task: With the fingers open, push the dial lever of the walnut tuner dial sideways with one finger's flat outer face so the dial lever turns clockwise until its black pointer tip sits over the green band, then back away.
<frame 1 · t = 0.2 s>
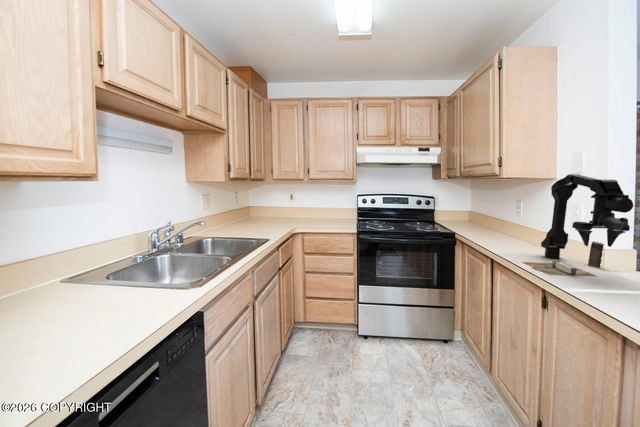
hand: (597, 246, 130), 13 cm above the counter, fingers open, 9 cm apart
box: (594, 268, 146), on the counter
dial lever: (564, 266, 135), point 3 cm above the counter, hinge at 0.0°
dial board: (557, 271, 139), on the counter
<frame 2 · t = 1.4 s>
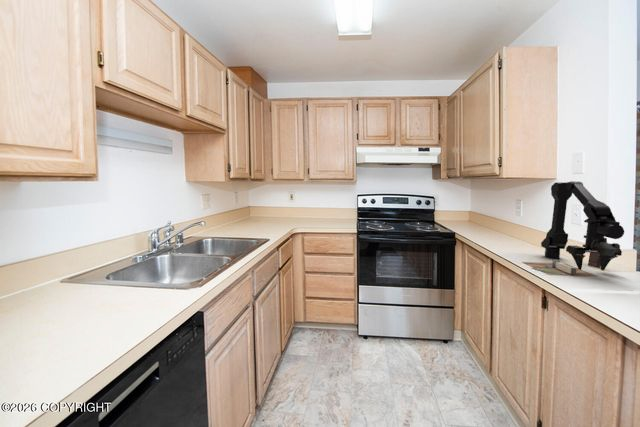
hand: (591, 269, 133), 3 cm above the counter, fingers open, 9 cm apart
nothing on the counter moved.
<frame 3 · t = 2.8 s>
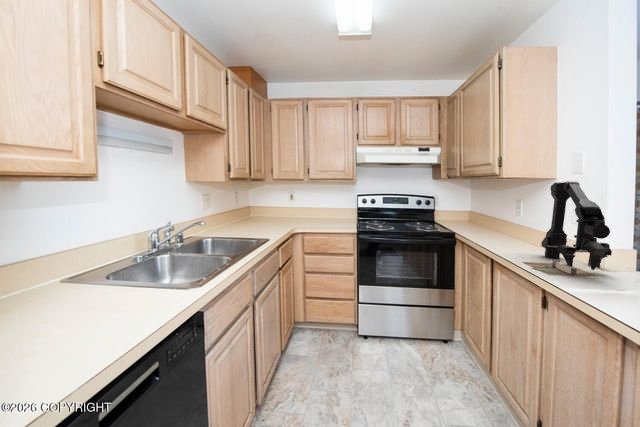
hand: (581, 269, 134), 3 cm above the counter, fingers open, 9 cm apart
dial lever: (564, 266, 135), point 3 cm above the counter, hinge at 0.0°, touching gripper
everything else where it was.
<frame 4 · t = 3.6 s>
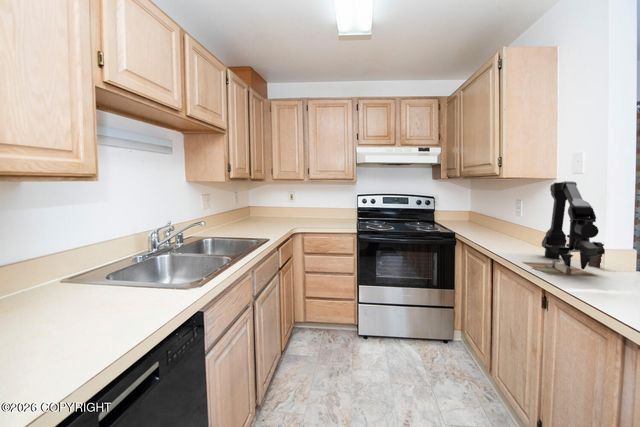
hand: (575, 269, 134), 3 cm above the counter, fingers open, 6 cm apart
dial lever: (562, 266, 135), point 3 cm above the counter, hinge at -9.8°, touching gripper
everything else where it was.
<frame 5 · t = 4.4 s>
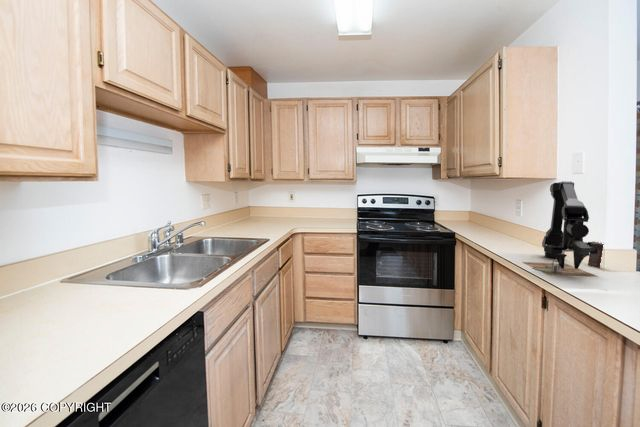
hand: (569, 268, 134), 3 cm above the counter, fingers open, 5 cm apart
dial lever: (555, 265, 136), point 3 cm above the counter, hinge at -34.8°, touching gripper
everything else where it was.
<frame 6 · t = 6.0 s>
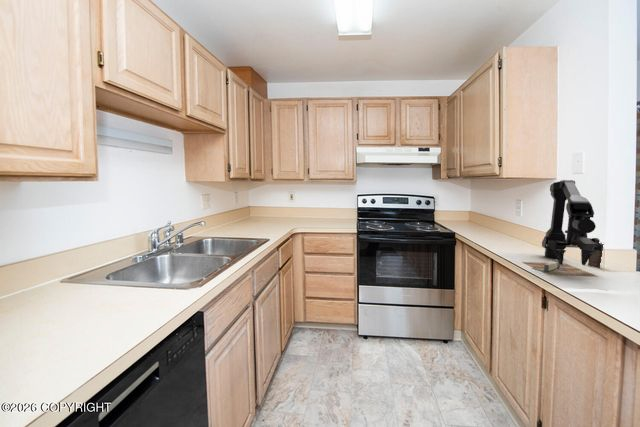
hand: (572, 264, 134), 5 cm above the counter, fingers open, 9 cm apart
dial lever: (551, 265, 137), point 3 cm above the counter, hinge at -51.5°
everything else where it was.
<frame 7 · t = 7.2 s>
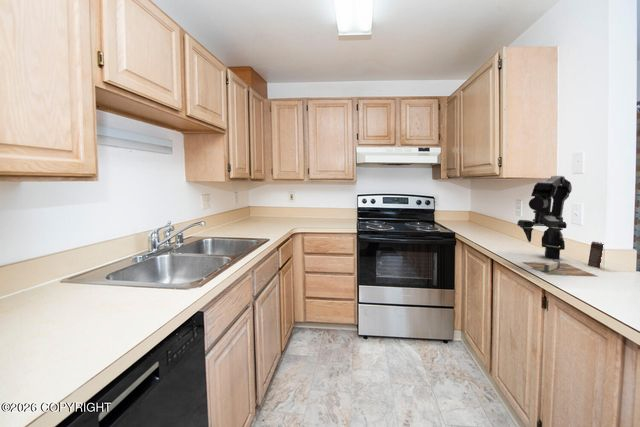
hand: (539, 242, 144), 12 cm above the counter, fingers open, 9 cm apart
nothing on the counter moved.
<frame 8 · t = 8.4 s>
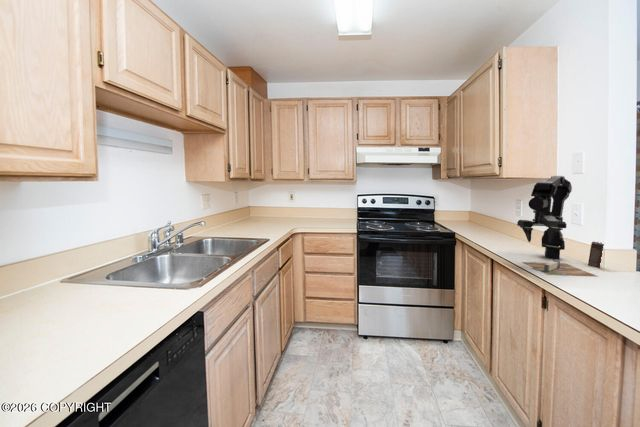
hand: (539, 242, 144), 12 cm above the counter, fingers open, 9 cm apart
nothing on the counter moved.
at the end: dial lever at -52° (first picture: +0°); dial lever touching nothing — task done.
